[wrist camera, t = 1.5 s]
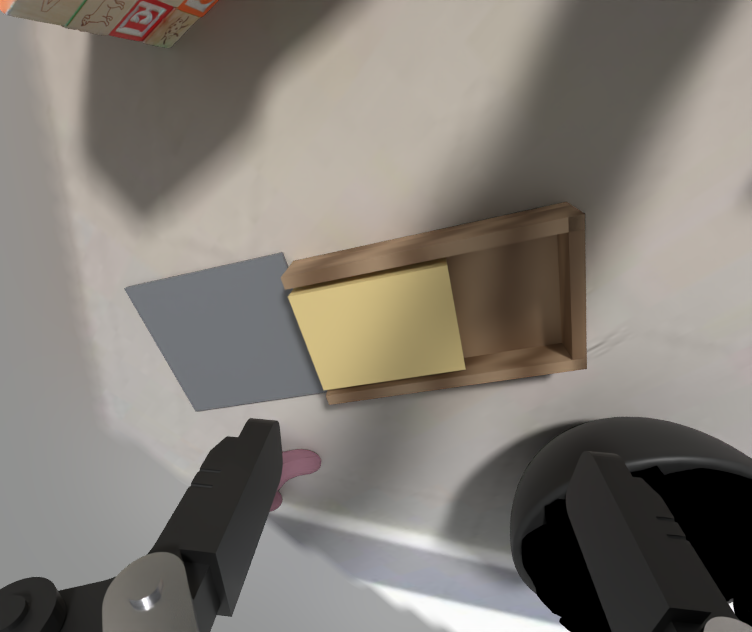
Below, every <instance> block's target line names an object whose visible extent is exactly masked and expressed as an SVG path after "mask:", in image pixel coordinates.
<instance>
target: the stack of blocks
mask: <svg viewBox="0 0 752 632" xmlns="http://www.w3.org/2000/svg"><path fill="white" fill-rule="evenodd" d="M218 1H219V0H0V10H1V11H2V12H3V13H4V14H5V15H9V16H13V17H18V18H24V19H29V20H34V21H39V22H44V23H50V24H56V25H61V26H62V27H65V28H68V29H73V30H79V31H81V32H90V33H92V34H99V35H103V36H106V35H110V36H115V37H119V38H124V39H129V40H135V41H142V42H143V43H145V44H149V45H154V46H160V47H166V48H170V47H172V46H173V45H174V43H175V42H176V41H177V40H178V39H179V38H180V37H181V36H182V35H183V34H184V33H185V32H186V31H187V30H188V29H189V28H190V27H191V26H192V25H193V24H194V23H195V22H196V21H197V20H198V19H199V18H200V17H203V16H204V15H205V14H206V13H207V12H208V11H209V10H210V9H211V8H212V7H213V6H214V5H215V4H216V3H217V2H218Z"/></svg>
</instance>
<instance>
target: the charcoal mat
mask: <svg viewBox="0 0 752 632" xmlns="http://www.w3.org/2000/svg"><path fill="white" fill-rule="evenodd" d="M287 269H288V265H287V262H286V260H285V257H284V254H283V252H281V253H277V254H273V255H268V256H264V257H259V258H255V259H250V260H246V261H241V262H237V263H232V264H228V265H223V266H219V267H214V268H210V269H205V270H201V271H196V272H192V273H187V274H183V275H178V276H174V277H169V278H165V279H160V280H156V281H151V282H147V283H142V284H138V285H133V286H129V287H126V288H125V291H126V293H127V294H128V296H129V298H130V299H131V301H132V303H133V305H134V306H135V308H136V310H137V311H138V313H139V315H140V317H141V318H142V320H143V322H144V323H145V325H146V327H147V329H148V330H149V332H150V334H151V336H152V337H153V339H154V341H155V342H156V344H157V346H158V348H159V349H160V351H161V353H162V354H163V356H164V358H165V360H166V361H167V363H168V365H169V366H170V368H171V370H172V372H173V373H174V375H175V377H176V378H177V380H178V382H179V384H180V385H181V387H182V389H183V391H184V392H185V394H186V396H187V397H188V399H189V401H190V403H191V404H192V406H193V408H194V409H195V411H201V410H208V409H215V408H222V407H229V406H235V405H242V404H249V403H256V402H263V401H269V400H276V399H283V398H290V397H297V396H303V395H310V394H317V393H324V392H327V391H328V390H323V387H322V385H321V382H320V379H319V377H318V374H317V371H316V369H315V366H314V364H313V361H312V358H311V356H310V353H309V351H308V348H307V345H306V343H305V340H304V338H303V335H302V332H301V330H300V327H299V325H298V322H297V319H296V317H295V314H294V312H293V309H292V306H291V304H290V301H289V298H288V296H289V294H290V293H291V291H292V290H293V288H291V289H286V290H285V288H284V285H283V283H282V280H281V276H282V275H283V274H284V272H285V271H286V270H287Z"/></svg>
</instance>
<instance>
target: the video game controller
mask: <svg viewBox="0 0 752 632" xmlns="http://www.w3.org/2000/svg"><path fill="white" fill-rule="evenodd" d="M282 456H283V468H282V475H281V480H280V483H279V486H278V489H277V492H276V495H275V497H274V500H273V503H272V506H271V508H270V511H274V510H275V509H277V508H278V507H279V506H280V505H281V503H282V496H281V494H280V493H279V492H278V490H279V489H280V488H281V487H282V486H283V484H284V483H285V482H286V481H288V480H289V479H291V478H294V477H296V476H300V475H306V474H311V473H313V472H315V471H317V470H318V469H319V468H320V466H321V459H320V457H319V456H318V455H317V454H316V453H315V452H312V451H310V450H304V449H296V450H290V451H286V452H282ZM270 511H269V512H270Z"/></svg>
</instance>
